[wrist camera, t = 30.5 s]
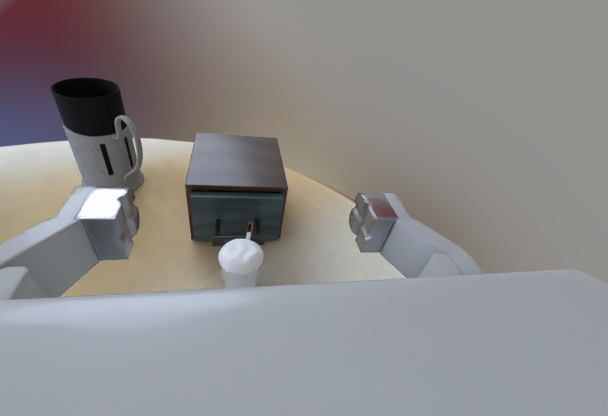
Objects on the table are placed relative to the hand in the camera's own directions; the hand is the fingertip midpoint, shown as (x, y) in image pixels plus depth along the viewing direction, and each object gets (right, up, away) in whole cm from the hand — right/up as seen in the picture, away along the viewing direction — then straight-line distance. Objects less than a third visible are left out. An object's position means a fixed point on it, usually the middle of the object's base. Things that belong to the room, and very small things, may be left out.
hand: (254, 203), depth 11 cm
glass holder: (-27, +3, +36) cm, 45 cm away
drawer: (-8, -2, +33) cm, 34 cm away
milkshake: (-6, -11, +25) cm, 28 cm away
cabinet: (-9, 0, +37) cm, 38 cm away
